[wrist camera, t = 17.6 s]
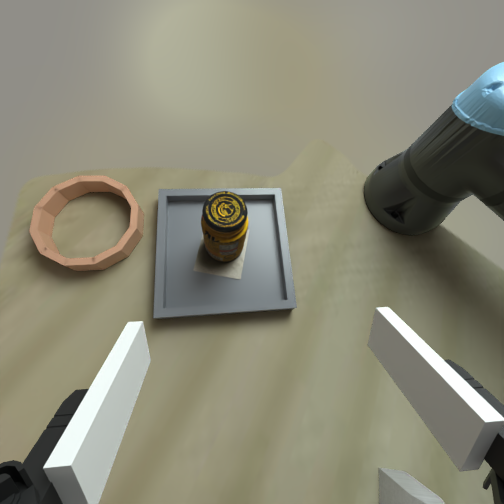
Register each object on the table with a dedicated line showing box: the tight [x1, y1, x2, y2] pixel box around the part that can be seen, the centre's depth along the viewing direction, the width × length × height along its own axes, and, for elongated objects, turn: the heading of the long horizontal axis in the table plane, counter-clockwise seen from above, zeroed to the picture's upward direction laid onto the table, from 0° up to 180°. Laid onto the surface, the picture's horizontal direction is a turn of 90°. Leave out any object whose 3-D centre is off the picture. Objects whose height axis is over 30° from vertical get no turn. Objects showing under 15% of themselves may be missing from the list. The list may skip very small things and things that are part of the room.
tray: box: [153, 188, 297, 319], centre depth 39 cm, size 20×20×2 cm
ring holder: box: [29, 176, 144, 271], centre depth 38 cm, size 14×14×3 cm
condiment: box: [193, 191, 249, 279], centre depth 34 cm, size 7×8×12 cm
